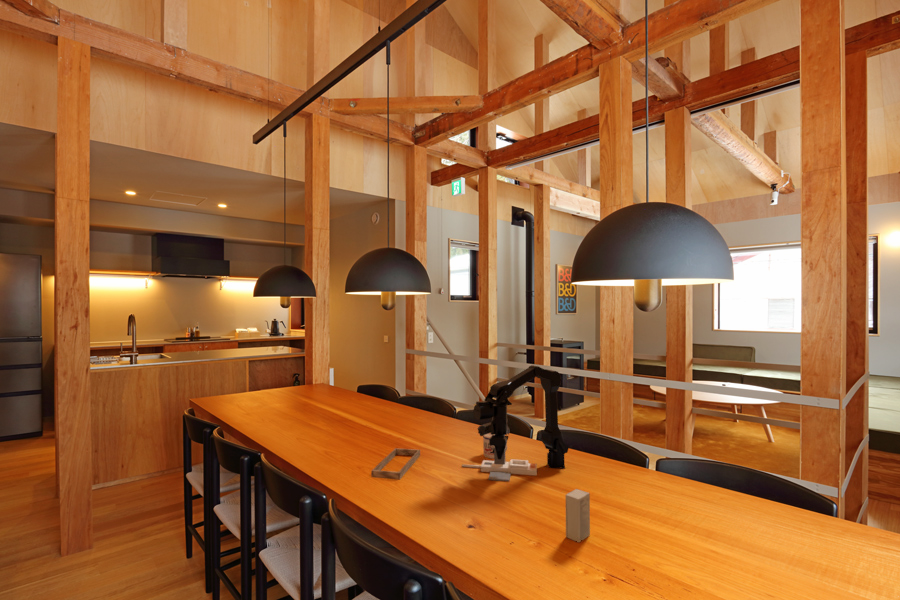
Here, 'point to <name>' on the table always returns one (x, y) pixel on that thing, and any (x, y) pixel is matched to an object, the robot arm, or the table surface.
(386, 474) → the wooden frame
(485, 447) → the teacup with lid
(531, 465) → the power strip
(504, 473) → the coaster
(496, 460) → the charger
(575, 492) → the skincare box
